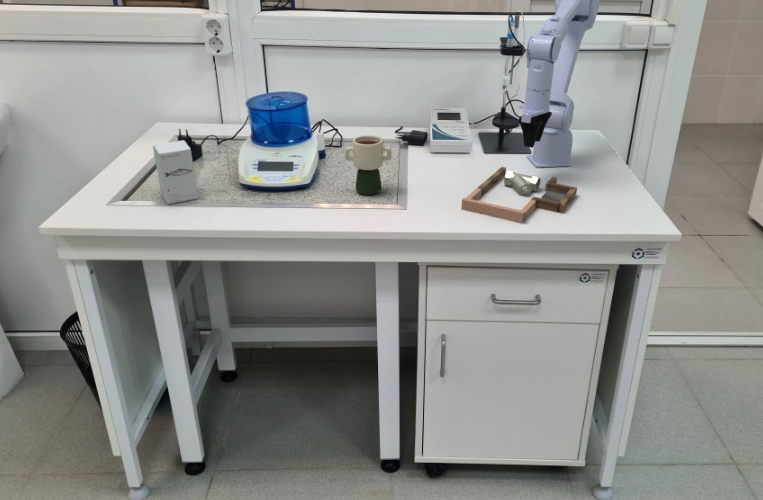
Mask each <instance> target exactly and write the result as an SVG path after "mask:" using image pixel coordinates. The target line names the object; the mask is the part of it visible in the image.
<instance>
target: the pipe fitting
mask: <svg viewBox="0 0 763 500" xmlns="http://www.w3.org/2000/svg"><path fill="white" fill-rule="evenodd" d="M541 181H542V180H541V177H540V176H539V177H538V176H534V175H533V176H532V175H526V174H523V173H517V172H514V171H511V170H506V175H505V176H504V177H503V184H504V185H506V186H510V187H512V188H514V190H516V192H517V193H518V194H519V195H520V196H528V195H529V194H531V192H532V191H533V192H535V193H536V192H538V191H539V189H540V187H541Z"/></svg>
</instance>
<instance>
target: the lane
mask: <svg viewBox="0 0 763 500" xmlns="http://www.w3.org/2000/svg"><path fill="white" fill-rule="evenodd" d="M506 173H507V167H505V166H501V167H500V168H498V170H496V171H495V172H494V173H493V174H491V176H489V177H488V178H487V179H485V180H484V181H483V182H482V183H481V184H480V185H478V187H477V188H479V189H482V191H481V197H483V195H485V194H486V193H487V192H488V191H489V190H490V189H492V188H493V187H494V186H495V185H496V184H497V183H498V182H499V181H501V180H502V179H504V178H505V175H506ZM557 182H558V177H555V176H551V177H550V178H549V180H548V181H547V182H546V183H545V187H544V191H545V193H543V195H542V196H541V197H537V196H533V197H532V198H531V199H530V200H534V201H536V204H535V209H536V208H537V209H542V210H545V211H550V212H554V213H559V214H563V213H564V212H565V210H566V209H567V208H568V206H569V205H570V204H571V203H572V201H573V200H574V199H575V198H576V196H577V193H578V187H577V186H576V187H575V186H572V185H571V186H570V185H565V184H562V183H561V184H560V183H557ZM481 197H480V198H481Z"/></svg>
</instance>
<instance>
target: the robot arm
mask: <svg viewBox="0 0 763 500" xmlns="http://www.w3.org/2000/svg"><path fill="white" fill-rule="evenodd" d="M600 2H601V1H600V0H555V2H554V10H555V14H554V15H552V16H551V17H548V19H546V21H545V22H544V23H543V26H542V27H541V29H540V30H539V31H538V33H535V34H534V35H533V36H532V35H531V36H530V37H529V39H528V41H527V46H526V48H525V49H526V50H525V51H526V52H525V54H526V68H527V69H528V70H527V78H526V85H525V86H526V88H525V96H524V103H520V104H519V106H518V107H519V109H521V110H522V111H523V112H522V114H521V115H520V116H519V117H518V123H519V125H520V127H521V132H522V140H523V146H524V147H526V148H532V154H531V155H526V158H527V159H528V160H529V161H530V162H531V164H532V165H533V166H534V167H535V168H549V167H550V168H553V167H570V166H571V163H570V161H571V157H572V156H571V155H572V149H573V141H574V140H573V139H574V138H573V133H572V131H571V130H570V128H571V126H572V122H573V119H574V110H575V103H574V101H573V99H572V98H571V97H570V96H569V95H568V94H567V93H568V91H569V86H570V83H571V80H572V77H573V76H572V75H573V74H574V73H573V72H574V71H575V70H574V69H575V65H576V63H577V62H576V61H577V58H578V55H579V52H580V48H581V44H582V40H583V37H584V35H585V34H586V32H587V31H589V30H591V29H593V27H594V25H595V22H596V19H597V15H598V11H599V8H600Z"/></svg>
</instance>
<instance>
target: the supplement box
mask: <svg viewBox="0 0 763 500" xmlns="http://www.w3.org/2000/svg"><path fill="white" fill-rule="evenodd" d="M152 149H153V155H154V161H155V166H156V172H157V176H158V177H157V178H158V183H159V187H160V188H159V189H160V193H161V195H162V197H163V199H164V201H165V203H166V205H171V204H175V203H180V202H181V203H182V202H186V201H191V200H197V199H199V196H198V189H197V183H196V182H197V181H196V175H195V170H194V163H193V162H194V161H193V156H192V150H191V147H190V146H189V145H188V143H187V142H186V141H185V140H177V141H170V142H169V141H168V142H162V143H157V144H152Z"/></svg>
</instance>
